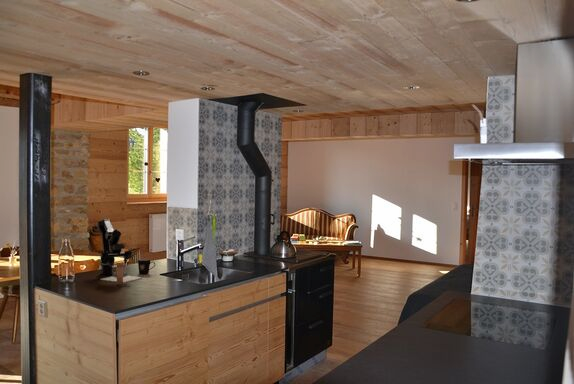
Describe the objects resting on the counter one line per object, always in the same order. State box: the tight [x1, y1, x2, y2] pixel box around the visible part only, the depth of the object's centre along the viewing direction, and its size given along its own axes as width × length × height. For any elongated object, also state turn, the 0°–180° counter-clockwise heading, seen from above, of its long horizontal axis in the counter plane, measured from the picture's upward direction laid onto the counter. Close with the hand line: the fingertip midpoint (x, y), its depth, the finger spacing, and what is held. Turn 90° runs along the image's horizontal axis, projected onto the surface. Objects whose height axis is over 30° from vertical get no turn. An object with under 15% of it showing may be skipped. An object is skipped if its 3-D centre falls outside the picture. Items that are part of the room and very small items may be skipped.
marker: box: [116, 262, 125, 285], centre depth 295 cm, size 4×4×13 cm
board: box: [100, 271, 143, 284], centre depth 310 cm, size 20×17×3 cm
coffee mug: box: [137, 258, 156, 276], centre depth 329 cm, size 12×9×10 cm
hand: (118, 266), depth 298 cm, fingers open, 9 cm apart
